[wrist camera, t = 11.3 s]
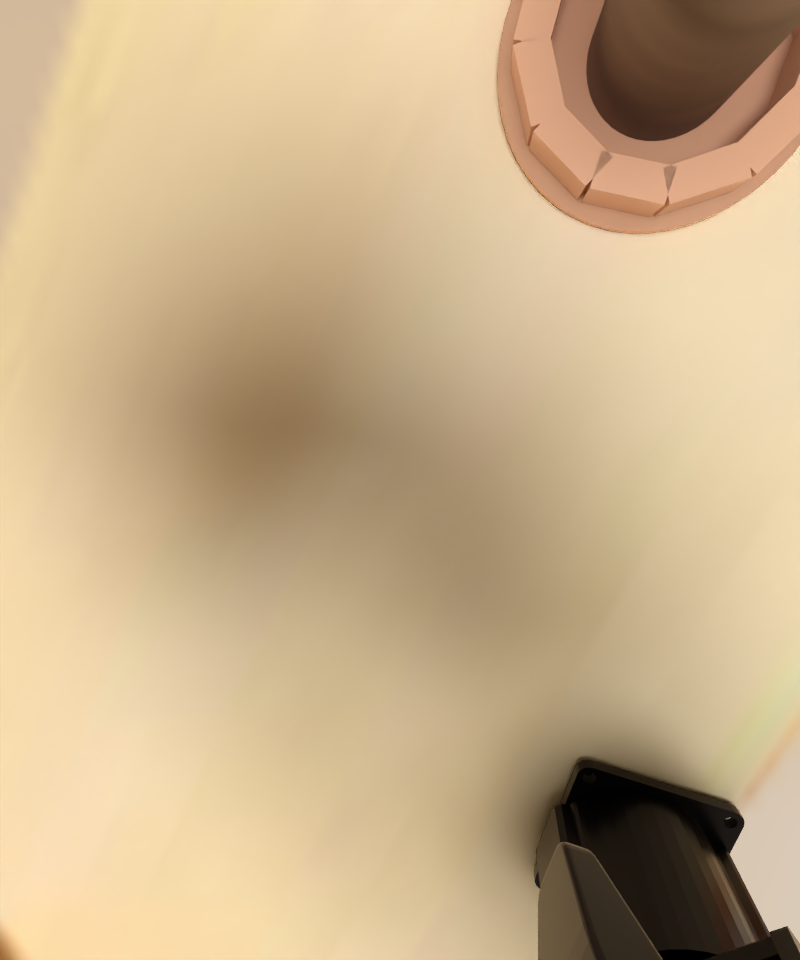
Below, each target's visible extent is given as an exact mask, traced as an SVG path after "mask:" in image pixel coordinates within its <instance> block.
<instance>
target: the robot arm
mask: <svg viewBox="0 0 800 960" xmlns="http://www.w3.org/2000/svg"><path fill="white" fill-rule="evenodd" d="M586 773H593V774H592V775H590V776H585V775H584V774H586ZM728 817H731V818H730V819H727V820H726V818H728ZM743 827H744V819H743V817H742V815H741V814H740V812H739V810H738V809H737V808H736V807H735V806H733V805H731V804H728V803H725V802H722V801H719V800H716V799H713V798H709V797H706V796H703V795H700V794H697V793H693V792H690V791H687V790H684V789H681V788H677V787H674V786H671V785H668V784H665V783H662V782H658V781H655V780H652V779H649V778H646V777H642V776H639V775H636V774H633V773H630V772H627V771H623V770H620V769H617V768H614V767H611V766H607V765H604V764H601V763H598V762H595V761H591V760H583V761H580V762H579V763H578V764H577V765H576V766H575V769H574V771H573V774H572V776H571V779H570V781H569V784H568V786H567V789H566V791H565V794H564V796H563V799H562V801H561V803H560V802H559V803H557V804H556V805H555V806H554V807H553V809H552V811H551V814H550V816H549V819H548V821H547V824H546V826H545V829H544V832H543V834H542V837H541V839H540V842H539V844H538V847H537V849H536V855H537V864H536V866H535V869H534V878H535V883H536V885H537V886H538V887H539V888H540V892H539V900H538V960H800V944H799V942H798V941H797V939H796V938H795V936H794V935H793V933H792V932H791V931H790V929H789V928H788V927H787V926H786V927H783V928H781V929H777V930H775V931H771V932H769V931H768V929H767V927H766V925H765V923H764V922H763V920H762V917H761V916H760V913H759V911H758V910H757V908H756V906H755V904H754V902H753V900H752V898H751V896H750V894H749V892H748V890H747V888H746V886H745V884H744V882H743V880H742V878H741V876H740V874H739V872H738V870H737V868H736V866H735V864H734V862H733V860H732V858H731V856H730V852H731V850H732V848H733V846H734V844H735V842H736V840H737V839H738V837H739V835H740V833H741V831H742V829H743Z"/></svg>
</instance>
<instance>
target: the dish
mask: <svg viewBox="0 0 800 960" xmlns="http://www.w3.org/2000/svg"><path fill="white" fill-rule="evenodd" d="M604 2H605V0H511V3H510V7H509V10H508V13H507V16H506V20H505V23H504V28H503V34H502V39H501V44H500V53H499V66H498V96H499V105H500V111H501V117H502V123H503V126H504V129H505V133H506V136H507V140H508V143H509V145H510V147H511V149H512V152H513V154H514V156H515V158H516V161H517V162H518V164H519V165H520V167H521V169H522V170H523V172H524V173H525V175H526V177H527V178H528V179H529V181H530V182H531V183H532V184H533V185H534V187H535V188H536V189H537V190H538V191H539V193H541V194H542V195H543V196H544V197H545V198H546V199H547V200H548V201H549V202H551V203H552V204H553V205H554V206H555V207H557V208H558V209H560V210H561V211H563V212H564V213H566V214H568V215H569V216H571V217H573V218H575V219H577V220H579V221H581V222H584V223H586V224H588V225H591V226H595V227H598V228H601V229H605V230H609V231H616V232H622V233H653V232H662V231H669V230H673V229H677V228H681V227H685V226H689V225H691V224H694V223H696V222H699V221H702V220H704V219H707V218H709V217H711V216H713V215H715V214H717V213H719V212H721V211H723V210H724V209H726V208H728V207H730V206H732V205H733V204H735V203H737V202H738V201H739V200H741V199H742V198H744V197H745V196H747V195H748V194H750V193H751V192H753V191H754V190H756V189H757V188H758V187H759V186H760V185H762V184H763V183H764V182H765V181H766V180H767V179H769V178H770V177H771V176H772V175H773V174H774V173H776V171H777V170H778V169H779V168H780V167H781V166H782V165H783V164H784V163H785V162H786V161H787V160H788V159H789V158H790V157H791V155H792V154H793V153H794V152H795V151H796V149H797V148H798V147H799V145H800V24H799V25H798V26H797V27H796V28H795V29H794V31H793V32H792V33H791V34H790V35H789V36H788V37H787V38H786V39H785V40H784V41H783V42H782V43H781V44H780V45H779V46H778V47H777V48H776V49H775V50H774V51H773V53H772V54H771V55H770V56H769V57H768V58H767V59H766V60H765V61H764V62H763V63H762V64H761V65H760V66H759V67H758V68H757V69H756V70H755V71H754V72H753V74H752V75H751V76H750V77H749V78H748V79H747V80H746V81H745V82H744V83H743V84H742V85H741V86H740V87H739V88H738V89H737V90H736V91H735V92H734V93H733V94H732V96H731V97H730V98H729V99H728V100H727V101H726V102H725V103H724V104H723V105H722V106H721V107H720V108H719V109H718V110H717V111H716V112H715V113H714V114H713V115H712V116H711V117H710V118H709V119H708V120H707V121H705V122H704V123H703V124H701V125H700V126H698V127H697V128H695V129H693V130H692V131H690V132H688V133H686V134H683V135H681V136H678V137H676V138H672V139H668V140H662V141H643V140H637V139H633V138H630V137H627V136H625V135H623V134H621V133H619V132H618V131H616V130H615V129H613V128H612V127H611V126H610V125H609V124H608V123H606V122H605V121H604V119H603V118H602V117H601V115H600V114H599V113H598V111H597V109H596V108H595V106H594V104H593V101H592V99H591V96H590V93H589V89H588V84H587V75H586V68H587V56H588V50H589V46H590V42H591V39H592V36H593V33H594V30H595V27H596V24H597V22H598V19H599V16H600V13H601V10H602V7H603V4H604Z"/></svg>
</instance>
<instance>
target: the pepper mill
mask: <svg viewBox="0 0 800 960" xmlns="http://www.w3.org/2000/svg"><path fill="white" fill-rule="evenodd" d="M799 24H800V0H605V2H604V4H603V7H602V10H601V13H600V16H599V19H598V22H597V24H596V27H595V30H594V33H593V36H592V39H591V42H590V46H589V50H588V56H587V68H586V75H587V84H588V89H589V93H590V96H591V99H592V101H593V104H594V106H595V108H596V109H597V111H598V113H599V114H600V115H601V117H602V118H603V119H604V121H605V122H606V123H608V124H609V125H610V126H611V127H612V128H613V129H615V130H616V131H618V132H619V133H621V134H623V135H625V136H627V137H630V138H633V139H637V140H643V141H662V140H668V139H672V138H676V137H678V136H681V135H683V134H686V133H688V132H690V131H692V130H693V129H695V128H697V127H698V126H700V125H701V124H703V123H704V122H705V121H707V120H708V119H709V118H710V117H711V116H712V115H713V114H714V113H715V112H716V111H717V110H718V109H719V108H720V107H721V106H722V105H723V104H724V103H725V102H726V101H727V100H728V99H729V98H730V97H731V96H732V94H733V93H734V92H735V91H736V90H737V89H738V88H739V87H740V86H741V85H742V84H743V83H744V82H745V81H746V80H747V79H748V78H749V77H750V76H751V75H752V74H753V72H754V71H755V70H756V69H757V68H758V67H759V66H760V65H761V64H762V63H763V62H764V61H765V60H766V59H767V58H768V57H769V56H770V55H771V54H772V53H773V51H774V50H775V49H776V48H777V47H778V46H779V45H780V44H781V43H782V42H783V41H784V40H785V39H786V38H787V37H788V36H789V35H790V34H791V33H792V32H793V31H794V29H795V28H796V27H797V26H798V25H799Z"/></svg>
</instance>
